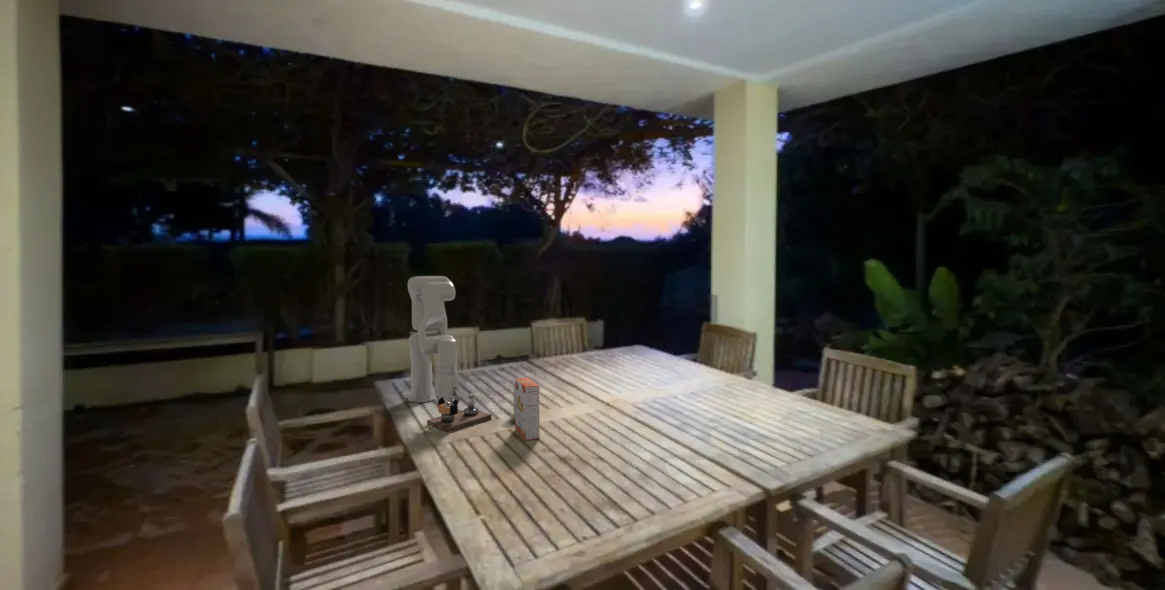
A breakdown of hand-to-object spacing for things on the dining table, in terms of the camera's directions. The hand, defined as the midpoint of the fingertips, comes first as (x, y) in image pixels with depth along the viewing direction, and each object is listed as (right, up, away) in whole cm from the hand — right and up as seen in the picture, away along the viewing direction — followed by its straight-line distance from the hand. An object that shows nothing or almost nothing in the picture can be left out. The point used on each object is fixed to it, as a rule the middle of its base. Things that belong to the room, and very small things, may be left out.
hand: (447, 412), depth 213 cm
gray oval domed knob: (0, -4, 0) cm, 4 cm away
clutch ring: (0, 0, 0) cm, 0 cm away
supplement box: (+29, -5, +17) cm, 34 cm away
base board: (+4, -5, +5) cm, 8 cm away
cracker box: (+33, -7, -8) cm, 35 cm away
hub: (+8, -3, +10) cm, 13 cm away
